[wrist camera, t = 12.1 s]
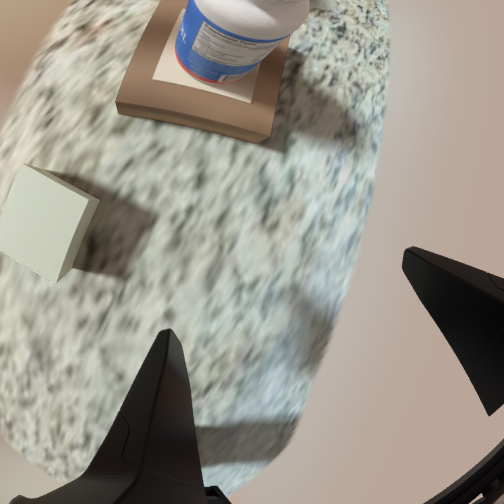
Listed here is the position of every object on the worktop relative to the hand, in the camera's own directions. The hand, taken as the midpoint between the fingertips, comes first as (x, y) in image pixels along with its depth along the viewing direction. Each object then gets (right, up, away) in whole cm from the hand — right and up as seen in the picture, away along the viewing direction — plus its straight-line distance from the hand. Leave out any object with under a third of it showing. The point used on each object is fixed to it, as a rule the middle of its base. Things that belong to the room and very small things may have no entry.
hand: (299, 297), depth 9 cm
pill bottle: (-4, +14, +5) cm, 16 cm away
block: (-15, +4, +6) cm, 16 cm away
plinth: (-5, +15, +7) cm, 17 cm away
